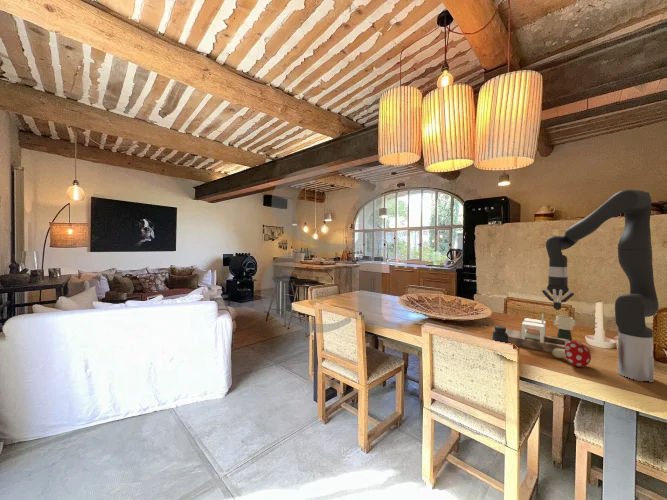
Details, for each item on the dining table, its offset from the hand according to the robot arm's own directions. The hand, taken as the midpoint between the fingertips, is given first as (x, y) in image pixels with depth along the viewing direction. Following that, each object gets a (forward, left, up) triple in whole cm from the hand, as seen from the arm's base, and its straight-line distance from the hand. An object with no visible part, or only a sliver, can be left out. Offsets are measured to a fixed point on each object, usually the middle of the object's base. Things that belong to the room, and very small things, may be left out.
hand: (557, 309), depth 136 cm
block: (+9, 0, -16) cm, 19 cm away
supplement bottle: (+21, +20, -21) cm, 36 cm away
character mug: (-3, -19, -21) cm, 28 cm away
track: (+9, 0, -20) cm, 22 cm away
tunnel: (+9, 0, -16) cm, 19 cm away
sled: (+9, 0, -16) cm, 19 cm away
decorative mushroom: (-5, +15, -21) cm, 26 cm away
